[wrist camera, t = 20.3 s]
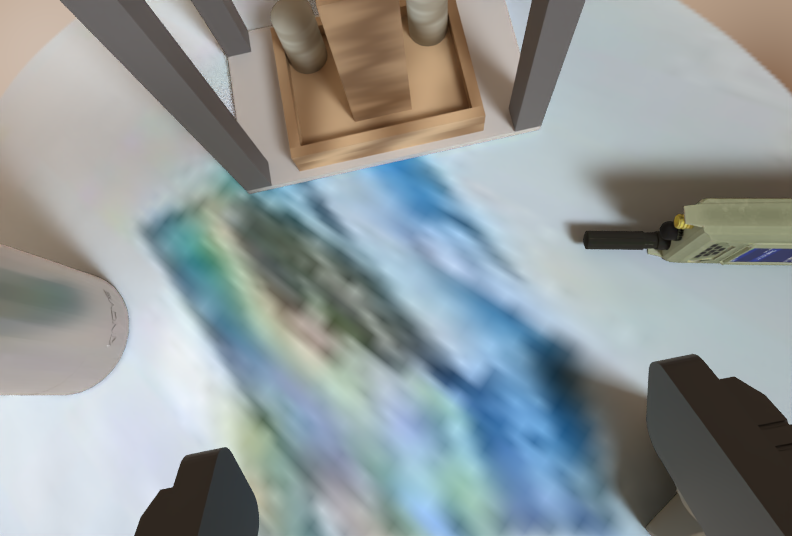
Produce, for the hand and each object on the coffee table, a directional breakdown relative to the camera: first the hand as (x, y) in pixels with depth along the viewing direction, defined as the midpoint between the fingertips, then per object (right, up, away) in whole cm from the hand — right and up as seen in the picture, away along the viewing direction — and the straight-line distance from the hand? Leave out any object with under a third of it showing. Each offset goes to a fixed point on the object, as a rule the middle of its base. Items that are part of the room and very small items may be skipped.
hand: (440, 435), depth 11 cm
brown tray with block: (-2, +18, +33) cm, 37 cm away
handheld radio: (+25, +5, +29) cm, 38 cm away
